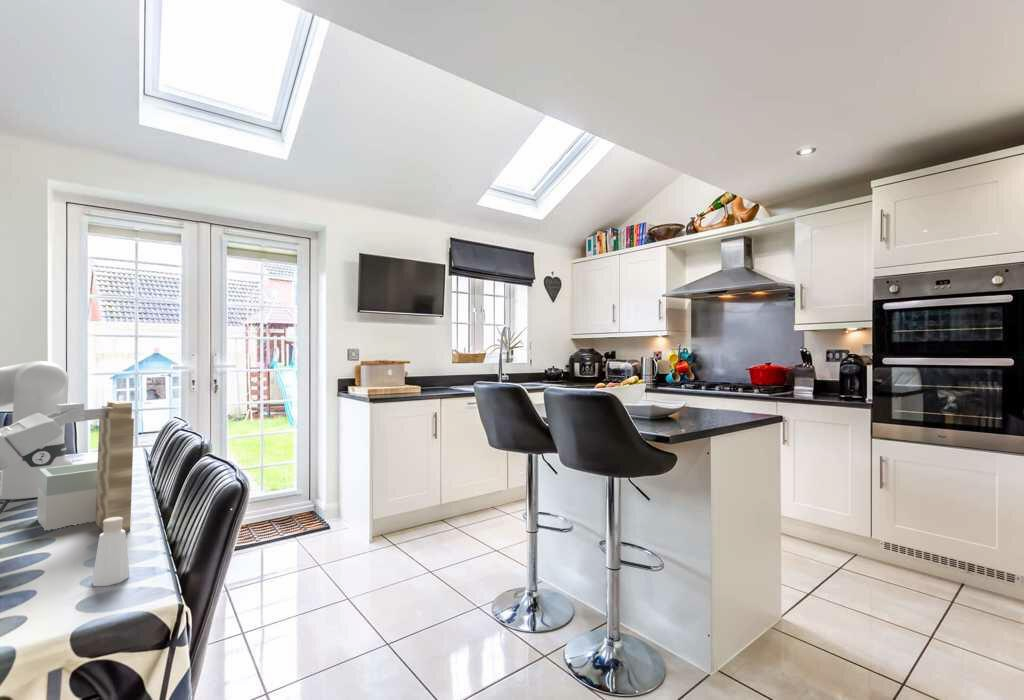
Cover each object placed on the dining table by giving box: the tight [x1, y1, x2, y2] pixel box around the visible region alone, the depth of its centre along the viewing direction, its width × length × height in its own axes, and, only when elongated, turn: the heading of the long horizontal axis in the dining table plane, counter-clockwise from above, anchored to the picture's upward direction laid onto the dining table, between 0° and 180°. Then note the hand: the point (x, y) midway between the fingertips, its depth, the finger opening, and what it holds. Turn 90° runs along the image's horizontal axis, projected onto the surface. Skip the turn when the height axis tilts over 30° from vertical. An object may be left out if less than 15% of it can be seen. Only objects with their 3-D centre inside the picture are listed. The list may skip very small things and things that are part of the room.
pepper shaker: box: [91, 517, 130, 587], centre depth 85 cm, size 5×5×11 cm
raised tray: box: [36, 461, 98, 532], centre depth 118 cm, size 12×16×12 cm
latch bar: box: [57, 402, 108, 424], centre depth 109 cm, size 4×11×4 cm, turn 142°
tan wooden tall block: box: [95, 400, 135, 532], centre depth 112 cm, size 12×4×30 cm, turn 52°
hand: (76, 410), depth 107 cm, fingers closed on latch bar, 4 cm apart
